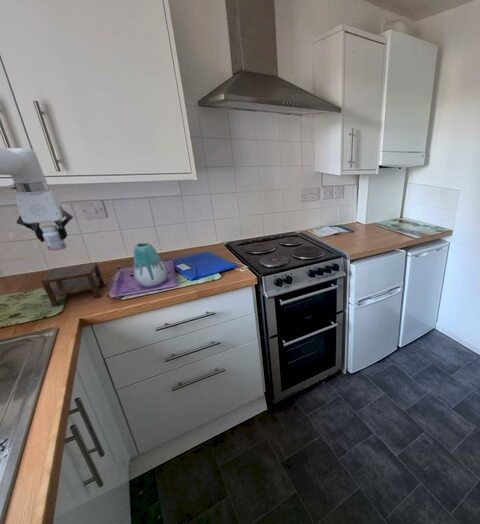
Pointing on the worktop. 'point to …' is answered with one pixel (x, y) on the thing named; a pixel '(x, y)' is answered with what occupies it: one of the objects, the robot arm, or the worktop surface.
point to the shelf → (72, 280)
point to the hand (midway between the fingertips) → (53, 239)
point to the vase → (148, 266)
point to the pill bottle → (53, 238)
